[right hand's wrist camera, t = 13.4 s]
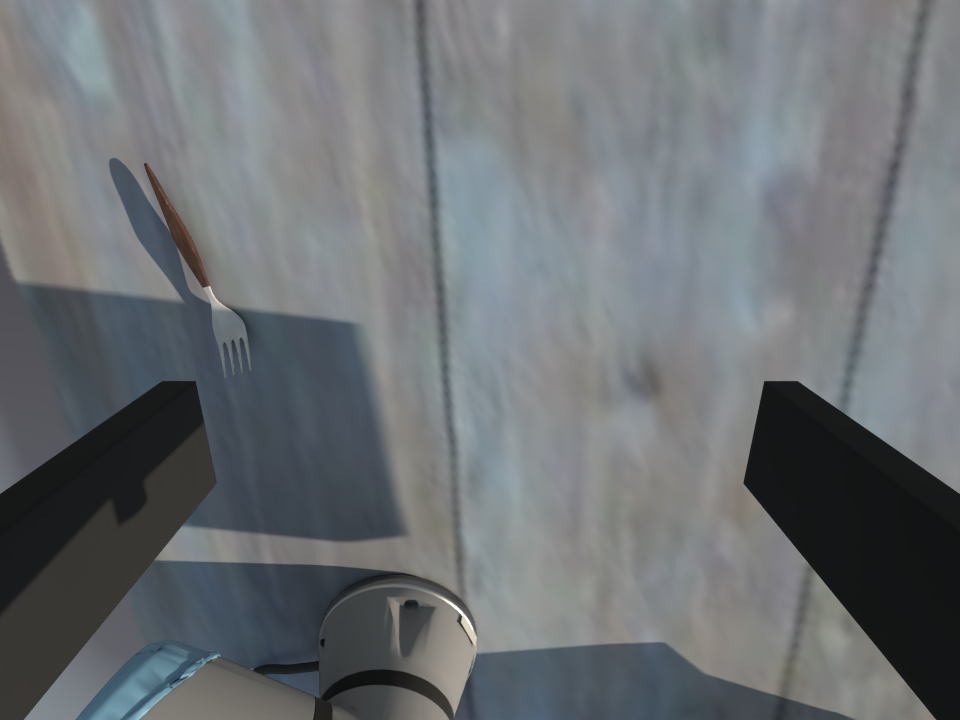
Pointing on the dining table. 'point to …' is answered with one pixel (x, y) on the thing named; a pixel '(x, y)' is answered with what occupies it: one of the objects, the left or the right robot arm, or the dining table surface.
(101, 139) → the dining table surface
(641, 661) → the dining table surface
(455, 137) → the dining table surface
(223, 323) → the fork
